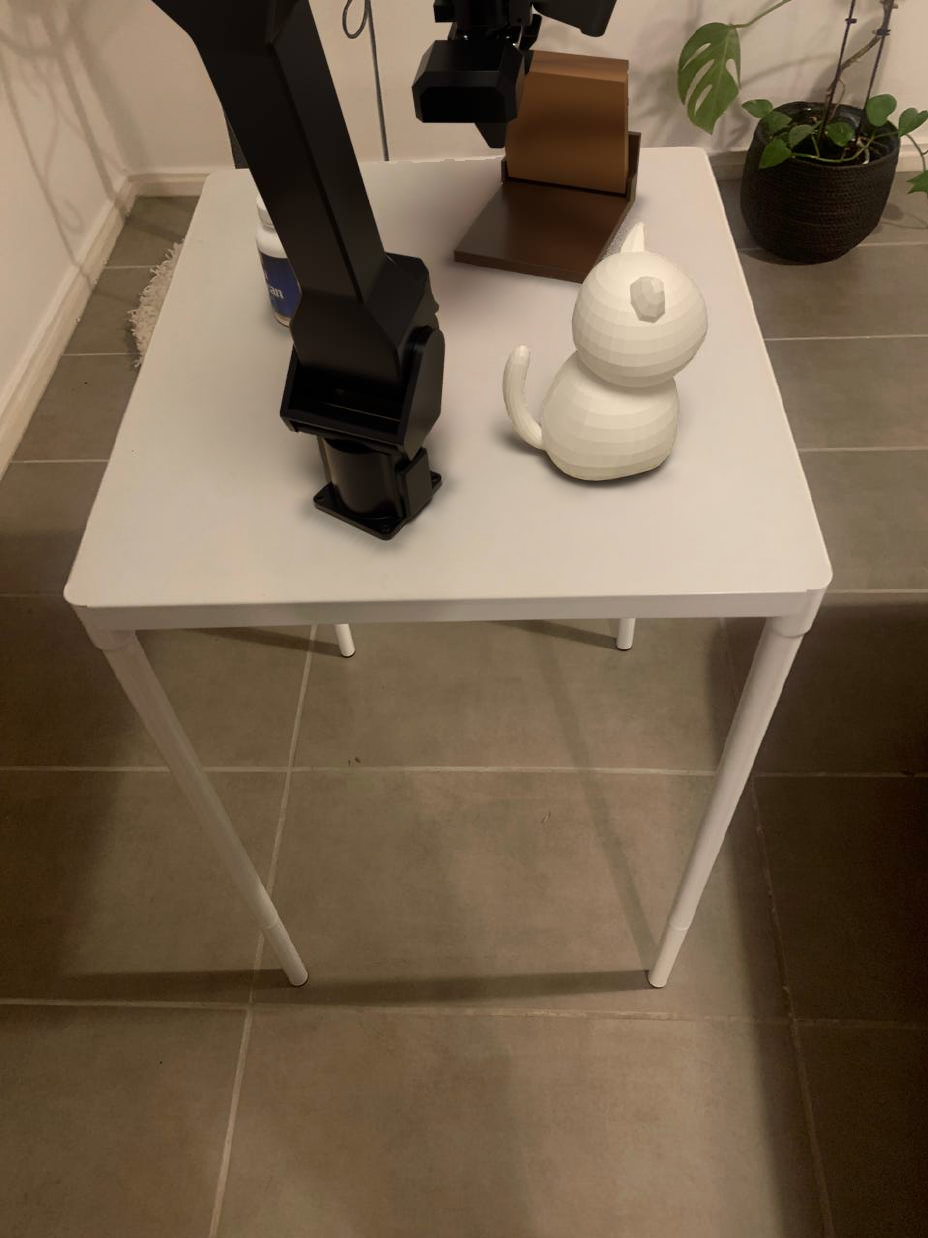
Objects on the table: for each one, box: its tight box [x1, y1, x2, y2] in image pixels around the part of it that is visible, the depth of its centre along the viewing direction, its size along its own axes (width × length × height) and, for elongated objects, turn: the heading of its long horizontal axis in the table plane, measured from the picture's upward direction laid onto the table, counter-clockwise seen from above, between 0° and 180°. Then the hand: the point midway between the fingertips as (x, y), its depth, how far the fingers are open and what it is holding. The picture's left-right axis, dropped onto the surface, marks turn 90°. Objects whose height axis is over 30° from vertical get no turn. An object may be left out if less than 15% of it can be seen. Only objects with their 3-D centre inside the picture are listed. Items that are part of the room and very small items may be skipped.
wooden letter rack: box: [504, 48, 630, 194], centre depth 79 cm, size 11×11×3 cm
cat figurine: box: [501, 221, 709, 481], centre depth 59 cm, size 9×12×15 cm
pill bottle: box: [254, 192, 300, 327], centre depth 73 cm, size 5×5×10 cm
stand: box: [453, 130, 642, 285], centre depth 80 cm, size 14×12×6 cm
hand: (497, 145), depth 66 cm, fingers closed
